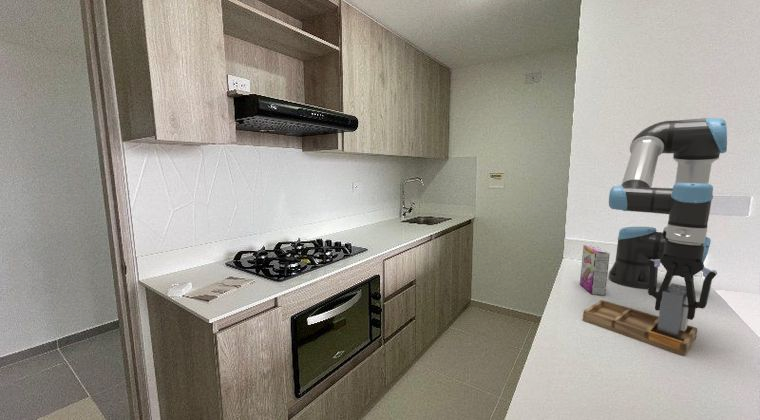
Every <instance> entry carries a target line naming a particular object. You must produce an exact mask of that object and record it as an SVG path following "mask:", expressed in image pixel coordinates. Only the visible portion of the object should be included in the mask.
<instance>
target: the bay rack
mask: <svg viewBox="0 0 760 420" xmlns="http://www.w3.org/2000/svg"><path fill="white" fill-rule="evenodd" d="M582 314H583V315H582V321H583V322H586V323H589V324H591V325H595V326H597V327H600V328H603V329H606V330H609V331H612V332H613V333H614V332H615V333H617V334H619V335H623V336H626V337H629V338H632V339H634V340H638V341H640V342H644V343H646V344H648V345H651V346H655V347H657V348H660V349H663V350H665V351H668V352H671V353H674V354H678V355H680V356H683V357H685V356H686V355H687V353H688V351H689V350H690V348H691V347H692V345H693V343H694V342H695V341H696V338H697V333H698V327H695V326H692V325H689V324H687V329H686V330H685V332H684V331H683V333H682V334H681V335H680V337H679V338H678V339H674V338H671V337H668V336H665V335H662V334H659V333H657V329H658V318H659V315H654V314H651V313H649V312H648V313H647V312H644V311H641V310H637V309H634V308H630V307H627V306H624V305H620V304H618V303H615V302H610V301H607V300H604V299H601V300H599V301H597V302H596V303H594V304H593V305H591V306H589V307H588V308H586V309H585V310H583V313H582Z"/></svg>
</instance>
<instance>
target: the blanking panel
mask: <svg viewBox="0 0 760 420" xmlns="http://www.w3.org/2000/svg"><path fill="white" fill-rule="evenodd" d="M686 305H688V299H687V291H686V285H682V284H681V285H680V284H676V283H670V284H669V286H668V287H667V288H666V289H665V290H664V291H663V293H662V300H661V307H660V315H659V314H658V317H659V322H658V329H657V333H659V334H662V335H665V336H668V337H671V338H674V339H678V338H679V337H680V335H681V334H682V333H683V331H681V326H682V319H683V313H684V307H685V306H686Z"/></svg>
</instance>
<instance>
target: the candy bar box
mask: <svg viewBox="0 0 760 420" xmlns="http://www.w3.org/2000/svg"><path fill="white" fill-rule="evenodd" d="M610 255H611V253H610V252H608V251H607V250H605V249H602V248H601V247H599V246H598V245H590V244H589V245H588V244H583V247H582V256H581V257H582V258H581V266H580V267H581V268H580V277H579V279H580V280H579V284H580V285H581V286H582V287H583V288H584V289H585V290H586V291H587V292H589V294H590V295H595V296H606V290H607V282H608V275H609V272H608V271H609V263H610Z"/></svg>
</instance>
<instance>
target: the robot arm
mask: <svg viewBox="0 0 760 420" xmlns="http://www.w3.org/2000/svg"><path fill="white" fill-rule="evenodd" d="M727 129H728V128H727V122H726V120H725V119H724V118H722V117H704V118H693V119H690V118H689V119H678V120H665V121H660V122H656V123H654V124H651V125H649V126H648V127H646V128H644V129H643V130H642V131H640V132H639V133H638V134H637V135H635V137H634V138H633V139H632V140H631V143H630V146H629V153H630V156H629V160H628V162H627V167H626V169H625V172H624V175H623V178H622V182H621V185H617V186H616V185H615V186H612V187H611V188H610V190H609V195H608V207H609V208H610V209H612V210H616V211H617V210H618V211H623V212H637V213H652V214H660V215H661V214H662V215H668V221H667V225H666V226H665V227H664V228H663V231H662V232H661V231H657V229H656V227H653V226H651V227H650V226H626V227H622V228H621V229H619V231H618V236H617V245H616V254H615V261H614V263H613V265H612V267H611V268H610V270H609V272H608V275H607V279H609V280H610V281H611V282H613V283H615V284H618V285H622V286H627V287H631V288H638V289H647V294H648V296H652V297H654V298H655V305H654V309H655V311H658V312H659V313H658V316H659V315H660V307H661V300H662V293H663V291H664V290H665V289H666V288H667V287H668V286H670V285H671V282H672V279H673V278H674V276H675V277H681V278H683V279H684V283H685V286H686V291H687V299H688V305H686V306H685V307H684V313H683V319H682V326H681V331H684V332H685V330H686V329H687V325H689V324H688V322H689V320H691V321H692V320H694V319H695V314H696V309H706V306H707V304H708V300H709V295H710V291H711V287H712V282H713V280H714V278H715V277H716V276H717V275H718V272H717V271H716V270H711V269H709V268H707V267H705V264H704V262H705V261H706V258H707V256H708V254H709V249H710V245H711V243H712V242H711V241H712V240H711V238H710V237H708V236H707V232H708V222H709V217H710V211H711V207H712V202H713V201H712V200H713V197H714V196H713V195H714V194H713V191H714V186H713V185H712V184H711V183H710V177H711V170H712V164H713V163H714V162H716V161H718V160H719V159H720V155H721V154H725V153H727V149H728V147H727V146H728V130H727ZM662 154H673V157H672V159H673V160H674V161H675V163H677V168H676V176H675V182H674V185H673V186H672V188H669V187H667V188H666V187H652V185H653V181H654V175H655V173H656V172H655V171H656V169H657V163H658V159H659V156H661V155H662ZM661 265H662V266H663V268H664V269H665V271H666V273H665V275H664V278H663V281H662V283H661V285H660V287H659V289H658V290H657V284H658V283H657V282H658V273H659V271H658V270H659V267H660V266H661ZM700 272H702V276H703V277H704V279H703V283H702V287H701V291H700V292H701V293H700V297H699V301H697V297H696V290H695V283H694V276H695V275H696V274H699V273H700ZM658 322H659V318H658Z"/></svg>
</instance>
